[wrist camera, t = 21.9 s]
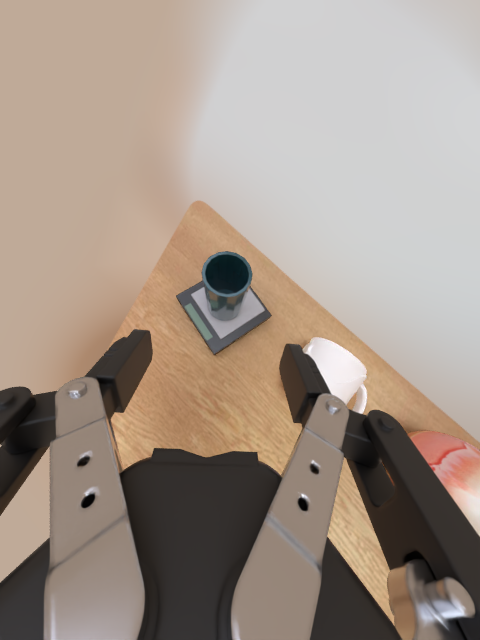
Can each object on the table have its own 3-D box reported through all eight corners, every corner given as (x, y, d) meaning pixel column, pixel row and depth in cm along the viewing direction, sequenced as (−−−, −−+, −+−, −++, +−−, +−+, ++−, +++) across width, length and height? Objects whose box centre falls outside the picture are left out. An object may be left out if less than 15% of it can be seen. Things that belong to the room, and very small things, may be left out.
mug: (273, 382, 33) (290, 386, 26) (303, 340, 36) (326, 332, 28) (330, 430, 32) (365, 448, 25) (357, 383, 35) (396, 387, 27)
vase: (422, 541, 30) (694, 769, 13) (351, 473, 31) (511, 597, 14) (457, 462, 33) (708, 558, 16) (392, 404, 34) (560, 437, 17)
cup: (219, 327, 32) (220, 306, 22) (200, 299, 33) (192, 265, 22) (248, 309, 33) (261, 280, 23) (229, 282, 34) (233, 243, 24)
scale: (214, 355, 33) (213, 354, 31) (178, 299, 35) (174, 294, 33) (269, 318, 36) (272, 314, 34) (232, 268, 38) (233, 261, 35)
